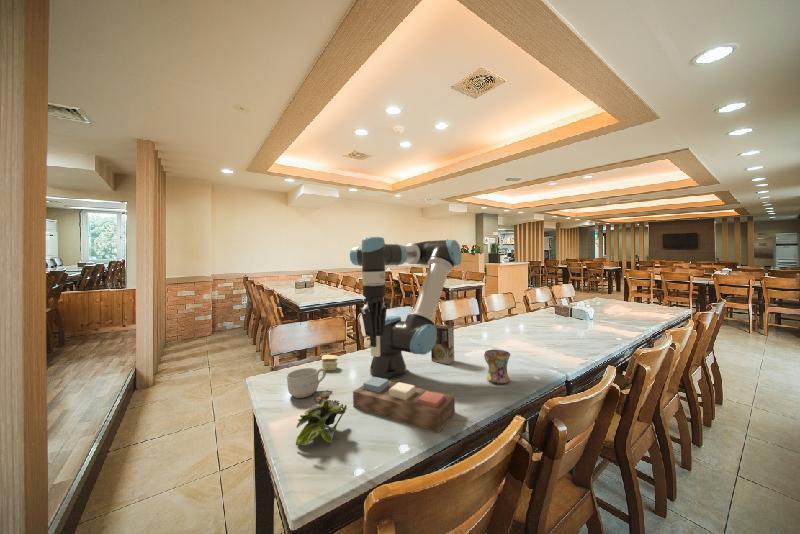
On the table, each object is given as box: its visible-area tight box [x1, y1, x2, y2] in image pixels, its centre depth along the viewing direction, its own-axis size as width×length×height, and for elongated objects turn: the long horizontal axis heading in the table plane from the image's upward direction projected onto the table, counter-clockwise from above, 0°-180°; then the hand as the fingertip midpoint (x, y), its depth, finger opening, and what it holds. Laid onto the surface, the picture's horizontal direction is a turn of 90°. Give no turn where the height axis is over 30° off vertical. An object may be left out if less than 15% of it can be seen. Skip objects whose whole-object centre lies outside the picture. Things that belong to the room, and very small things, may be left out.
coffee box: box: [430, 323, 455, 365], centre depth 138 cm, size 9×6×16 cm
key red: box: [418, 390, 445, 408], centre depth 89 cm, size 6×6×4 cm
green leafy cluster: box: [295, 395, 348, 447], centre depth 80 cm, size 13×12×14 cm
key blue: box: [362, 376, 390, 393], centre depth 100 cm, size 6×6×4 cm
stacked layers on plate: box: [321, 354, 338, 371], centre depth 132 cm, size 10×9×6 cm
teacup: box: [286, 367, 327, 399], centre depth 108 cm, size 14×11×8 cm
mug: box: [483, 349, 511, 384], centre depth 116 cm, size 12×9×11 cm
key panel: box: [352, 381, 456, 433], centre depth 94 cm, size 30×12×5 cm, turn 59°
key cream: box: [389, 381, 416, 400], centre depth 94 cm, size 6×6×4 cm
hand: (375, 355), depth 99 cm, fingers closed
